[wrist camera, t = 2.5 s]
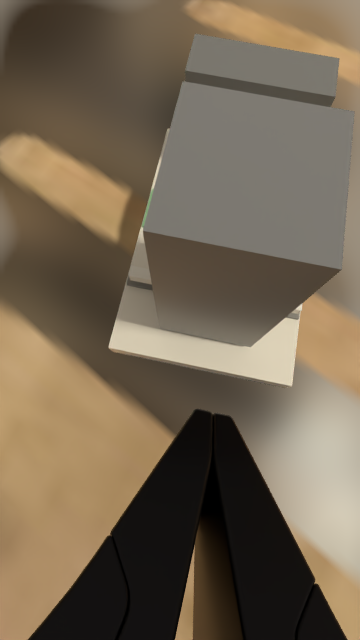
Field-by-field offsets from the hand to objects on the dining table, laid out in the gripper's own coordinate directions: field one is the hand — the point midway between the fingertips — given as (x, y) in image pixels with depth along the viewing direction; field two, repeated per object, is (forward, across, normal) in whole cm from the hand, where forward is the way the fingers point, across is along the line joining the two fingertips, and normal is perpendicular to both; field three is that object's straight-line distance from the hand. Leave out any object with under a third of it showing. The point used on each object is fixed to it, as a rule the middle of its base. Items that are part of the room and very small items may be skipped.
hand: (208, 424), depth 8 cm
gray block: (+12, 0, +2) cm, 12 cm away
